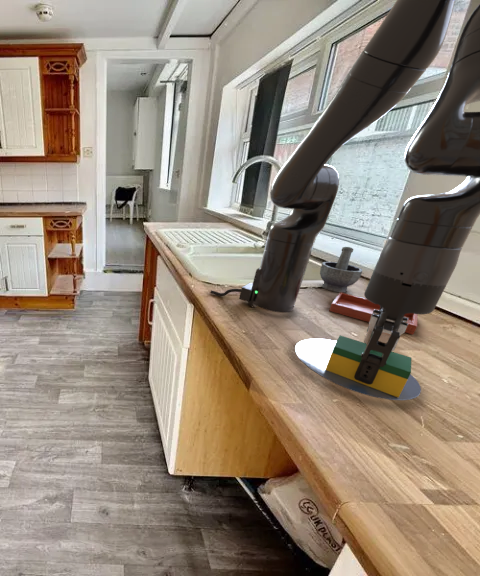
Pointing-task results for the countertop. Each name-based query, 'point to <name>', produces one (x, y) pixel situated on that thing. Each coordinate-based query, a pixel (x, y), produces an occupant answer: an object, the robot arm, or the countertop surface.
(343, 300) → the sponge dish
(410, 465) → the countertop surface
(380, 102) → the robot arm
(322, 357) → the mirror
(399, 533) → the countertop surface
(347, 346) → the sponge
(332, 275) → the mortar and pestle
